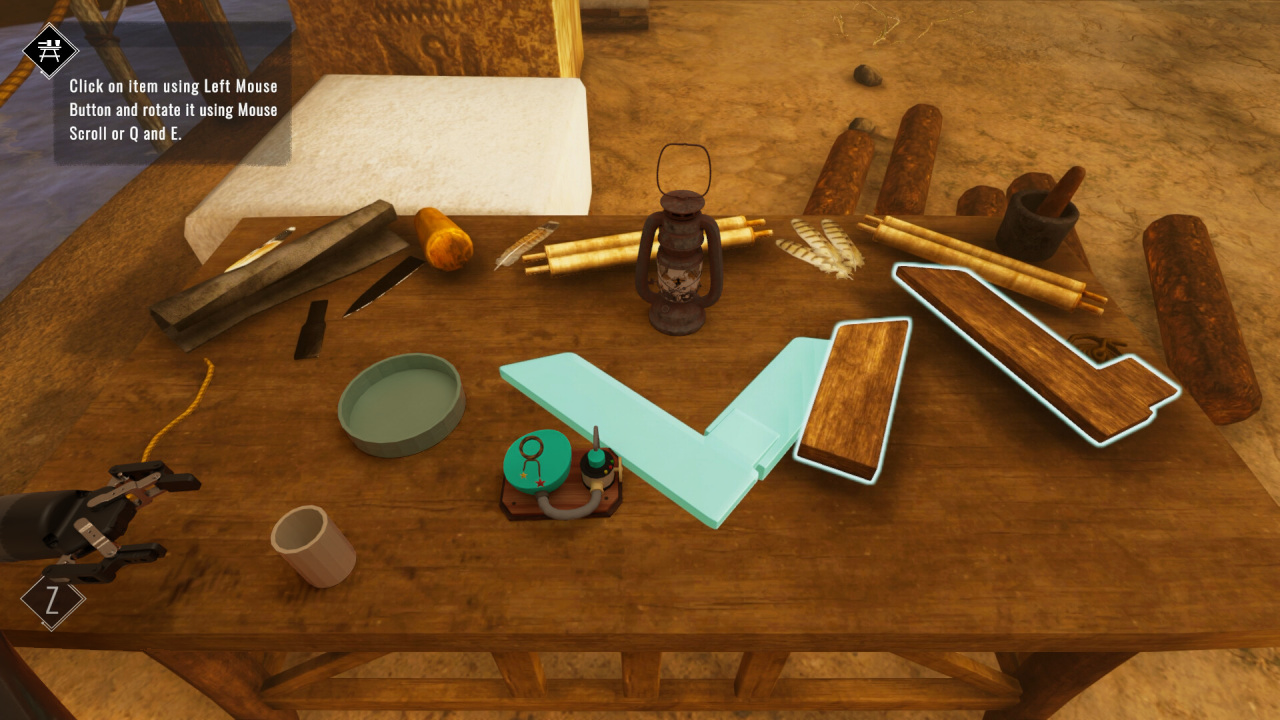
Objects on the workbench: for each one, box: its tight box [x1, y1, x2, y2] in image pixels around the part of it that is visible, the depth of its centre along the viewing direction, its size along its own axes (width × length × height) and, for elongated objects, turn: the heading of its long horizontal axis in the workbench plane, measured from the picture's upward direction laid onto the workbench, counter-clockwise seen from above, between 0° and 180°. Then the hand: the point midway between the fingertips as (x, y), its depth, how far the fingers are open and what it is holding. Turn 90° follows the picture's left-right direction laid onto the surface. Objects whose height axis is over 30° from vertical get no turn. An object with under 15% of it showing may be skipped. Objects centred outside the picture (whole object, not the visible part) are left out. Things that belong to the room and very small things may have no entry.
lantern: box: [634, 142, 724, 337], centre depth 99 cm, size 11×16×35 cm
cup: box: [270, 504, 357, 589], centre depth 73 cm, size 6×6×10 cm
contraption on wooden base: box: [498, 425, 624, 522], centre depth 79 cm, size 14×18×15 cm
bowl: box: [337, 352, 467, 459], centre depth 94 cm, size 19×19×4 cm
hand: (180, 514), depth 66 cm, fingers open, 8 cm apart
